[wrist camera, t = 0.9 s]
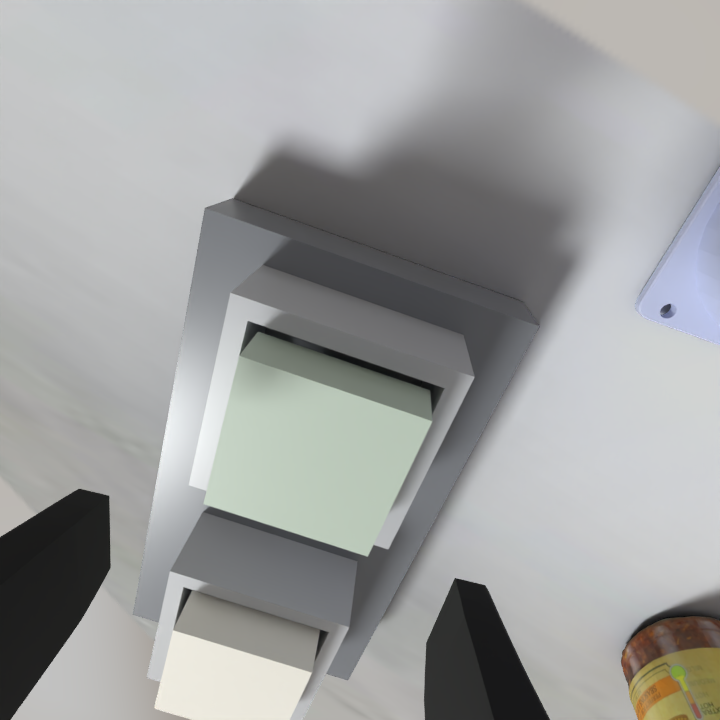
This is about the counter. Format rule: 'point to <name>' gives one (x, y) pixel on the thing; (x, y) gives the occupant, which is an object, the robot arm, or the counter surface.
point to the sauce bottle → (675, 669)
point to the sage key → (315, 443)
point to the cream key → (235, 663)
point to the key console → (342, 341)
